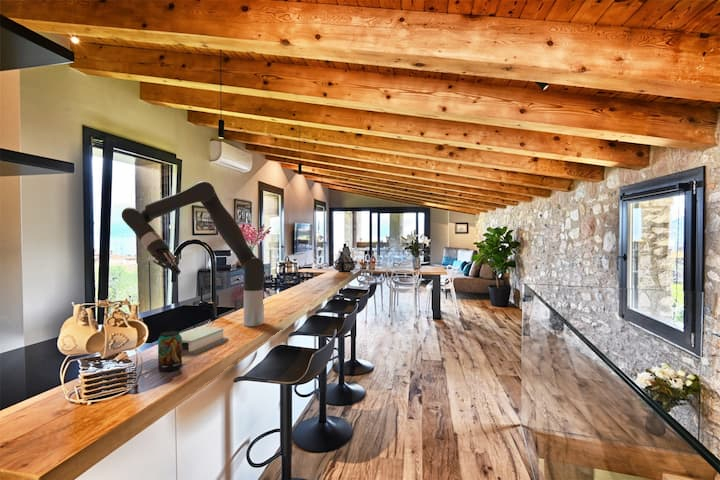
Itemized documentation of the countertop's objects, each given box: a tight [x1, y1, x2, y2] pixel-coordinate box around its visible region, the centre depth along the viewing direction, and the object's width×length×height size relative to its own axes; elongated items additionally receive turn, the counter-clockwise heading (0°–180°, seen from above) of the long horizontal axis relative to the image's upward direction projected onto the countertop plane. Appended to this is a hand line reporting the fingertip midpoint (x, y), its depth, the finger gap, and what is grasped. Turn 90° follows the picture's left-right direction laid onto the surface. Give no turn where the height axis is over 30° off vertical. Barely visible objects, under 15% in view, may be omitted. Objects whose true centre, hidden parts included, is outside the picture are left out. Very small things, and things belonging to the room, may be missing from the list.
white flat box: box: [182, 330, 229, 356], centre depth 152 cm, size 20×16×4 cm
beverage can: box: [157, 330, 183, 373], centre depth 126 cm, size 7×7×12 cm
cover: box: [179, 326, 224, 343], centre depth 152 cm, size 19×12×1 cm, turn 163°
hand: (178, 273), depth 160 cm, fingers closed
